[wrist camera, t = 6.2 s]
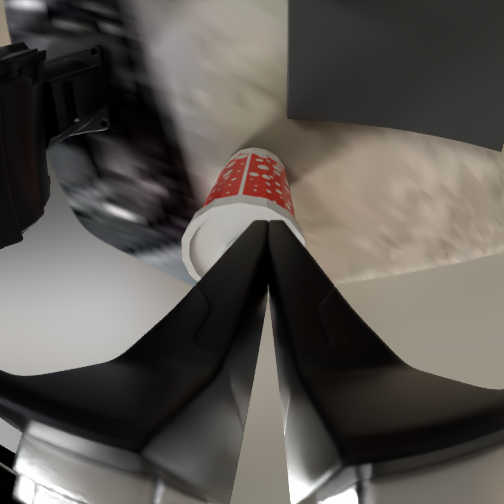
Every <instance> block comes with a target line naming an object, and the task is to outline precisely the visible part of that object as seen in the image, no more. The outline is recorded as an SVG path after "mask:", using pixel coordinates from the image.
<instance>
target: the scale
mask: <svg viewBox="0 0 504 504" xmlns="http://www.w3.org/2000/svg"><path fill="white" fill-rule="evenodd" d="M287 119H301V120H318V121H331V122H342V123H352V124H361V125H370V126H377V127H385V128H392V129H398V130H405V131H411V132H416V133H422V134H427V135H433V136H438V137H442V138H447V139H452V140H456V141H461V142H465V143H469V144H473V145H477V146H481V147H485V148H489V149H492V150H496V151H499V152H501V151H502V148H503V144H504V0H288V64H287Z"/></svg>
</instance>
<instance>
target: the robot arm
mask: <svg viewBox="0 0 504 504" xmlns="http://www.w3.org/2000/svg"><path fill="white" fill-rule="evenodd" d="M95 49H96V50H97V54H96V55H95V54H94V50H95ZM44 59H46V50H42V51H38V49H28V47H27V46H26V44H25V43H24V42H20V43H15V44H11V45H7V46H3V47H0V249H2V248H4V247H6V246H9V245H12V244H15V243H18V242H21V241H22V240H23V236H22V233H24V232H25V231H26V230H27V229H28V228H29V227H31V226H32V225H33V224H35V223H36V222H37V221H38V220H39V219H40V218H41V217H42V215H43V214H44V206H45V205H46V203H47V201H48V199H49V197H50V184H51V183H50V176H49V175H48V170H47V159H46V152H47V151H48V150H49V149H51V148H52V147H54V146H55V145H56V144H58V143H59V142H61V141H62V140H64V139H65V138H67V137H68V136H71V135H77V134H82V133H88V132H94V131H101V130H106V129H108V128H110V127H111V125H112V116H111V110H110V102H111V99H110V92H109V84H108V77H107V70H106V69H105V65H104V56H103V49H102V47H101V46H100V45H95V46H91V47H87V48H84V49H81V50H77V51H74V52H71V53H68V54H65V55H62V56H59V57H57V58H54V59H51V60H48V61H46V62H44ZM104 120H105V121H106V122H107V125H105V124H104ZM268 286H269V302H270V311H271V320H272V328H273V337H274V345H275V355H276V364H277V373H278V382H279V391H280V400H281V409H282V418H283V428H284V438H285V448H286V457H287V467H288V476H289V487H290V498H291V504H504V389H502V390H495V389H487V388H481V387H477V386H473V385H470V384H466V383H462V382H459V381H455V380H451V379H448V378H444V377H441V376H437V375H434V374H430V373H427V372H423V371H420V370H417V369H415V368H413V367H411V366H409V365H408V364H406V363H405V362H404V361H402V360H401V359H400V358H399V357H398V356H397V355H396V354H395V353H394V352H393V351H392V350H391V349H390V348H389V347H388V346H387V345H386V344H385V343H384V342H383V341H382V340H381V339H380V338H379V336H378V335H377V334H376V333H375V332H374V331H373V330H372V329H371V328H370V327H369V326H368V325H367V324H366V323H365V322H364V321H363V320H362V318H361V317H360V316H359V315H358V314H357V313H356V312H355V311H354V310H353V309H352V307H351V306H350V305H349V304H348V302H347V301H346V300H345V299H344V298H343V296H342V295H341V294H340V292H339V291H338V289H337V288H336V287H334V284H333V283H332V282H331V280H330V279H329V278H328V276H327V275H326V274H325V273H324V271H323V270H322V269H321V267H320V266H319V265H318V263H317V262H316V261H315V260H314V258H313V257H312V256H311V254H310V253H309V252H308V251H307V249H306V248H305V247H304V246H303V244H302V243H301V242H300V240H299V239H298V238H297V237H296V235H295V234H294V233H293V232H292V230H291V229H290V228H289V227H288V225H287V224H286V223H285V222H284V221H283V220H270V221H269V222H268V221H267V220H254V221H253V222H252V223H251V224H250V225H249V226H248V227H247V228H246V230H245V231H244V232H243V233H242V234H241V235H240V236H239V237H238V238H237V239H236V241H235V242H234V243H233V244H232V245H231V246H230V247H229V248H228V249H227V250H226V252H225V253H224V254H223V255H222V256H221V257H220V258H219V259H218V260H217V262H216V263H215V264H214V265H213V266H212V267H211V268H210V269H209V270H208V272H207V273H206V274H205V275H204V276H203V277H202V278H201V279H200V281H199V282H198V283H197V284H196V286H194V287H193V288H192V289H191V290H190V292H189V293H188V294H187V295H186V296H185V297H184V298H183V299H182V300H181V301H180V302H179V303H178V304H177V305H176V306H175V308H173V309H172V310H171V311H170V312H169V313H168V314H167V315H166V316H165V317H164V318H163V319H162V320H161V321H160V322H158V323H157V324H156V325H155V326H154V327H153V328H152V329H151V330H149V331H148V332H147V333H146V334H145V335H144V336H143V337H142V338H141V339H139V340H138V341H137V342H136V343H135V344H134V345H133V346H132V347H130V348H129V349H128V350H127V351H126V352H124V353H123V354H121V355H120V356H118V357H117V358H115V359H113V360H111V361H108V362H105V363H101V364H96V365H91V366H86V367H81V368H76V369H70V370H65V371H59V372H54V373H48V374H42V375H34V376H19V375H13V374H9V373H7V372H4V371H2V370H0V417H1V418H2V419H3V420H5V421H6V422H8V423H9V424H10V425H12V426H13V427H14V428H16V429H18V430H19V431H20V432H22V435H21V438H20V441H19V445H18V448H17V451H16V454H15V453H14V452H12V451H10V450H8V449H7V448H5V447H3V446H1V445H0V504H207V503H213V504H230V499H231V495H232V490H233V485H234V480H235V475H236V470H237V465H238V460H239V455H240V450H241V445H242V440H243V432H244V428H245V424H246V418H247V413H248V407H249V402H250V397H251V391H252V386H253V380H254V375H255V369H256V363H257V358H258V352H259V346H260V341H261V335H262V329H263V323H264V317H265V311H266V305H267V298H268Z"/></svg>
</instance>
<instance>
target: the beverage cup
mask: <svg viewBox="0 0 504 504" xmlns="http://www.w3.org/2000/svg"><path fill="white" fill-rule="evenodd" d="M254 220H267V221H268V222H269V221H270V220H283V221H284V222H285V223H286V224H287V225H288V227H289V228H290V229H291V230H292V232H293V233H294V234H295V235H296V237H297V238H298V239H299V240H300V242H301V243H302V244H303V246H304V247H305V248H306V245H305V239H304V235H303V229H302V228H301V227H300V225H299V224H298V223H297V221H296V220H295V214H294V210H293V205H292V200H291V195H290V190H289V185H288V181H287V176H286V171H285V167H284V165H283V163H282V162H281V161H280V159H279V158H278V157H277V156H276V155H274V154H273V153H271V152H269V151H268V150H266V149H260V148H254V147H252V148H248V149H243V150H240V151H238V152H237V153H235V154H234V155H232V156H231V157H230V158H229V160H228V161H227V163H226V164H225V166H224V168H223V169H222V171H221V173H220V175H219V177H218V179H217V181H216V183H215V185H214V186H213V188H212V190H211V192H210V194H209V196H208V198H207V200H206V202H205V204H204V206H203V208H201V209H200V210H198V211H197V212H196V213H195V215H194V217H193V219H192V220H191V222H190V224H189V225H188V227H187V229H186V231H185V233H184V235H183V237H182V259H183V262H184V264H185V266H186V268H187V270H188V272H189V274H190V276H192V277H193V278H194V279H195V280H196V281H197V282H199V281H200V279H201V278H202V277H203V276H204V275H205V274H206V273H207V272H208V270H209V269H210V268H211V267H212V266H213V265H214V264H215V263H216V262H217V260H218V259H219V258H220V257H221V256H222V255H223V254H224V253H225V252H226V250H227V249H228V248H229V247H230V246H231V245H232V244H233V243H234V242H235V241H236V239H237V238H238V237H239V236H240V235H241V234H242V233H243V232H244V231H245V230H246V228H247V227H248V226H249V225H250V224H251V223H252V222H253V221H254ZM267 299H269V286H268V298H267Z"/></svg>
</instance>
